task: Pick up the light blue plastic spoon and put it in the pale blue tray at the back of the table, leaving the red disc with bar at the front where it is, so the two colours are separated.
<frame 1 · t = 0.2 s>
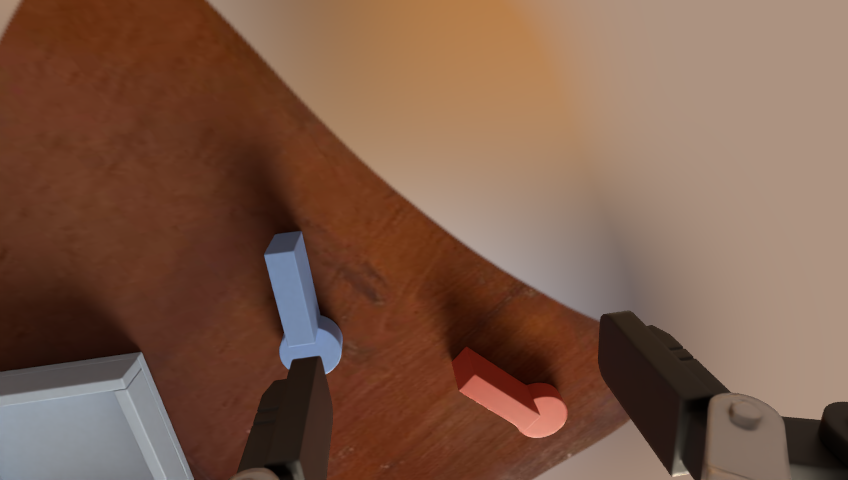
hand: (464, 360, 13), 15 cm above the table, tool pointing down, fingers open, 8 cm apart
blue spoon: (305, 304, 29), on the table
red disc with bar: (510, 386, 33), on the table
blue tray: (84, 451, 32), on the table
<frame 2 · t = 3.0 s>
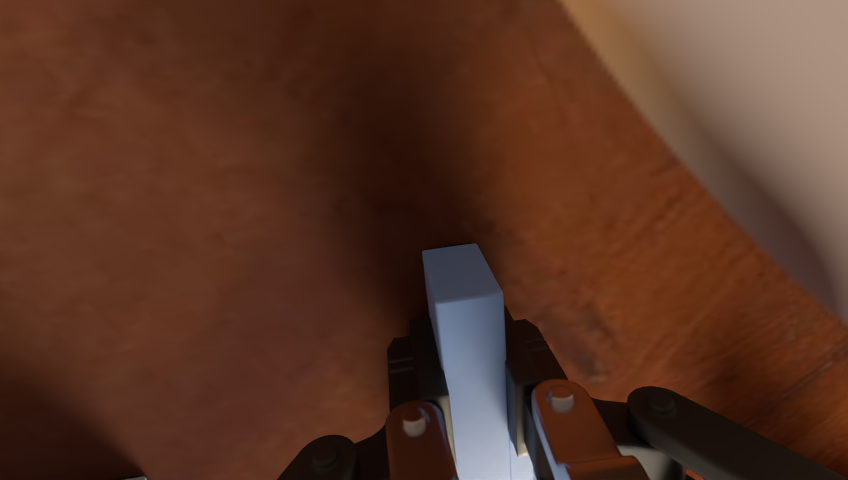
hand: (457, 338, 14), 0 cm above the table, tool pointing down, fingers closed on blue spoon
blue spoon: (462, 385, 15), on the table, touching gripper
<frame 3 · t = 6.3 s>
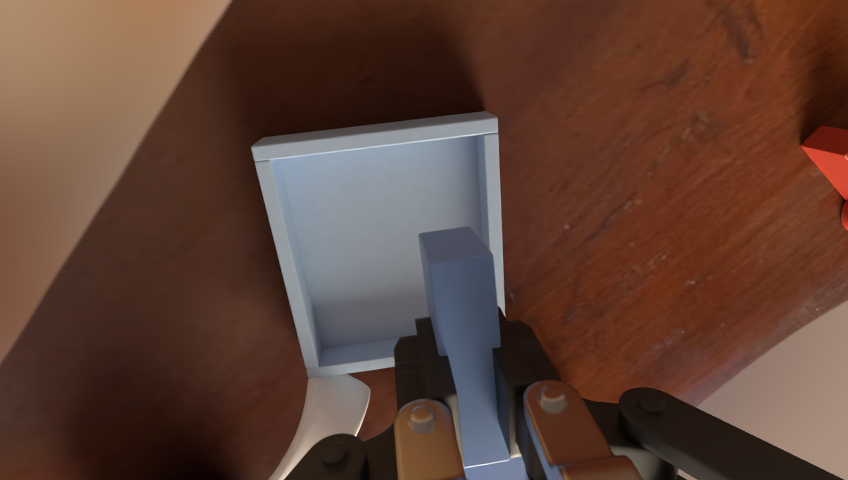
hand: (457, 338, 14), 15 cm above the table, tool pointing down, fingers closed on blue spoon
blue spoon: (460, 375, 15), point 14 cm above the table, tilted 8°, touching gripper
spoon rest: (248, 465, 34), on the table, touching blue tray
blue tray: (392, 243, 28), on the table
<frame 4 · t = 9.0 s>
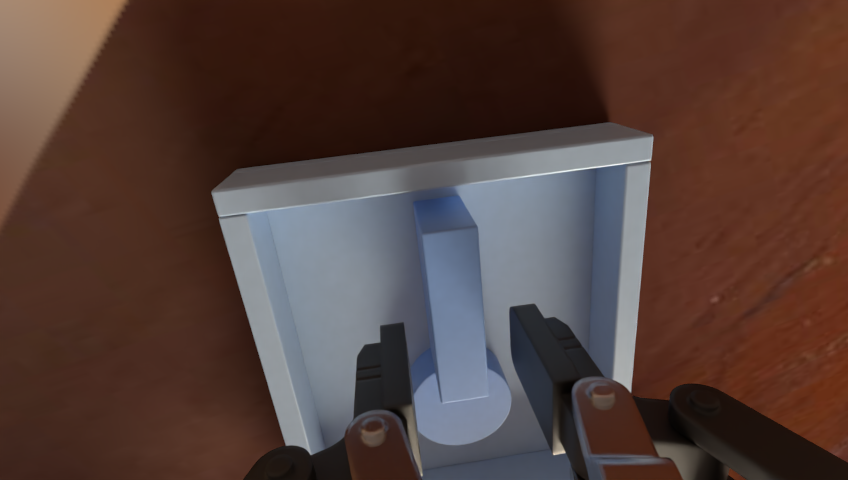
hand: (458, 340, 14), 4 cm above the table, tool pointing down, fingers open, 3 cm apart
blue spoon: (449, 324, 17), point 1 cm above the table, touching blue tray
blue tray: (446, 329, 18), on the table
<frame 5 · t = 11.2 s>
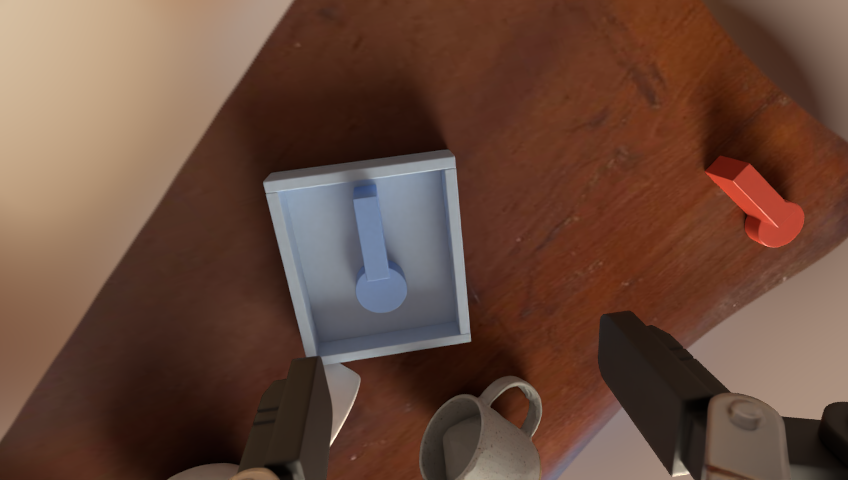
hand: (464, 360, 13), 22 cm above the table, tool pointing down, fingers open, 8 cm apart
blue spoon: (375, 250, 34), point 1 cm above the table, touching blue tray
red disc with bar: (748, 200, 37), on the table
spoon rest: (258, 446, 41), on the table, touching blue tray
ceramic mug: (480, 412, 42), on the table
blue tray: (376, 255, 35), on the table
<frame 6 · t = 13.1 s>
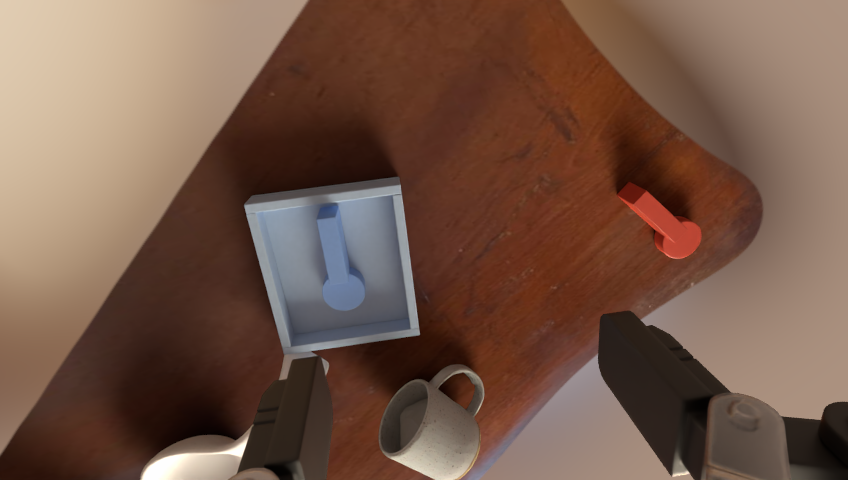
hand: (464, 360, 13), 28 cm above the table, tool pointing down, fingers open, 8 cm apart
blue spoon: (339, 258, 41), point 1 cm above the table, touching blue tray
red disc with bar: (656, 219, 44), on the table
spoon rest: (244, 421, 48), on the table, touching blue tray
ceramic mug: (433, 395, 49), on the table
blue tray: (340, 262, 42), on the table
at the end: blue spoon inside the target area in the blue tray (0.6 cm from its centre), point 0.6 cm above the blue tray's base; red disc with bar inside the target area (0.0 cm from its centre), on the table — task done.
